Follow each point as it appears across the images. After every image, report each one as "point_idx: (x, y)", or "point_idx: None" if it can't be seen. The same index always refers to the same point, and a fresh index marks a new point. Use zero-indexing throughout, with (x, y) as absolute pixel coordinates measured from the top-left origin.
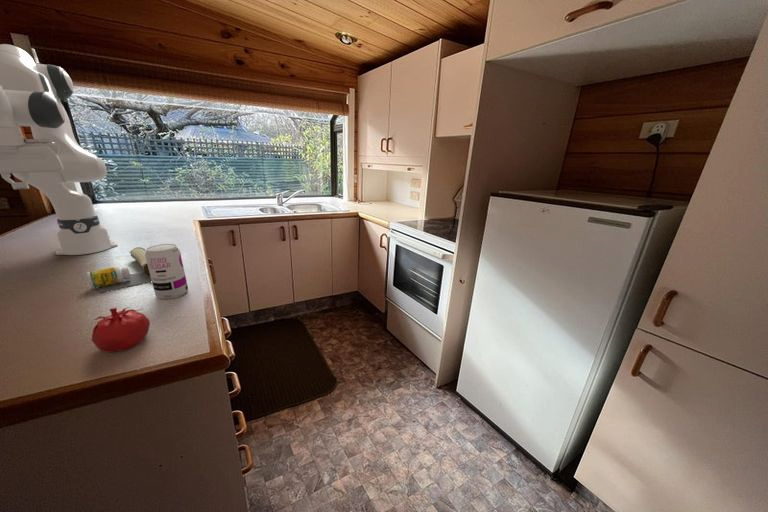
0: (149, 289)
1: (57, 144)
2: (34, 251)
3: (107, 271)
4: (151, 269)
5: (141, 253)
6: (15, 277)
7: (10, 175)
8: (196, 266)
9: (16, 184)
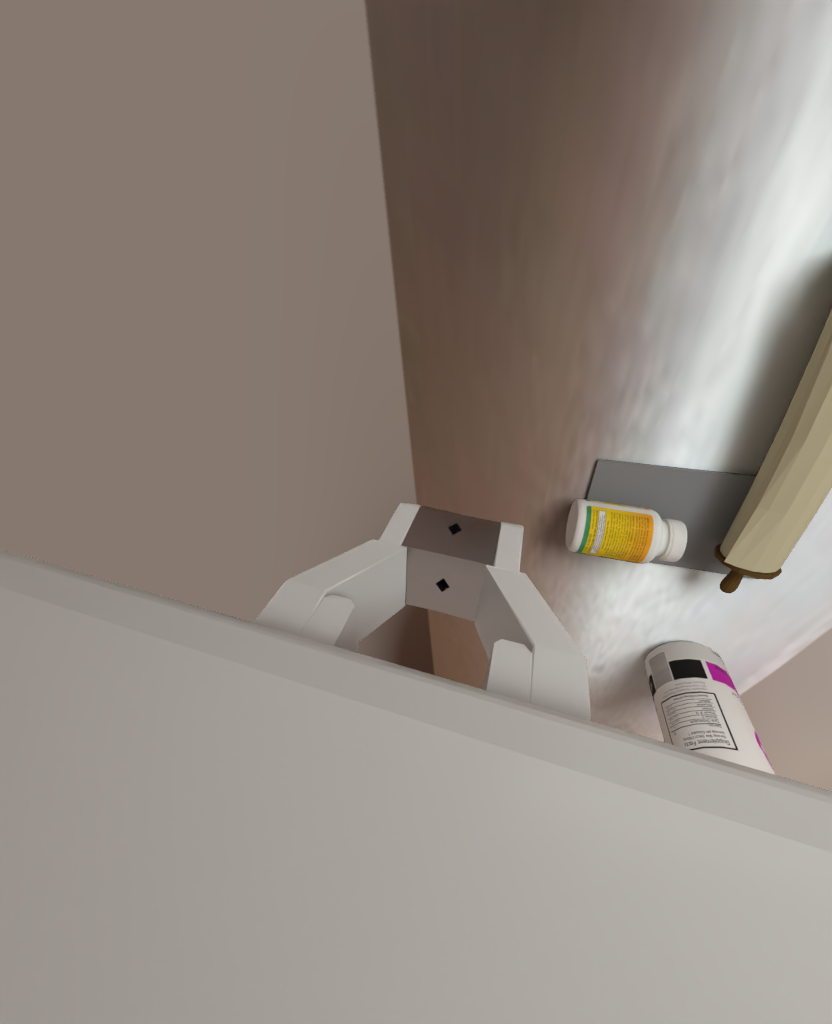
0: (663, 605)
1: None
2: None
3: (620, 557)
4: (663, 737)
5: None
6: (405, 162)
7: (349, 620)
8: None
9: (422, 598)
